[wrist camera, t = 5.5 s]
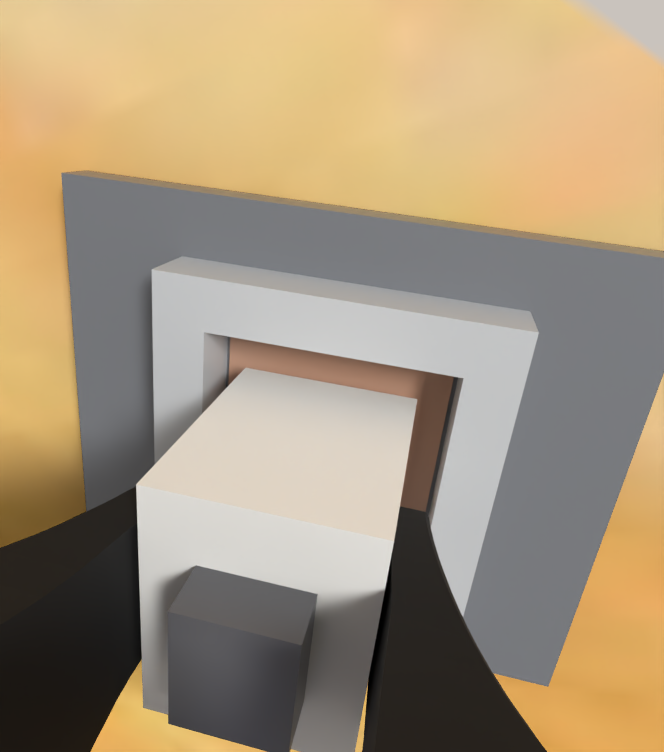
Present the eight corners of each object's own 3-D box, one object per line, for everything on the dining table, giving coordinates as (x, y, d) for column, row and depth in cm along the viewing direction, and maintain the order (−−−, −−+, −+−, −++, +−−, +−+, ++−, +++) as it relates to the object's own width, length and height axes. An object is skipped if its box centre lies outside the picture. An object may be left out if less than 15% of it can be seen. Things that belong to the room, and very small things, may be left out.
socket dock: (543, 657, 17) (556, 736, 15) (108, 552, 19) (61, 608, 17) (685, 254, 12) (736, 280, 10) (86, 170, 14) (16, 176, 12)
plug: (385, 574, 15) (341, 826, 9) (236, 540, 15) (114, 759, 10) (417, 399, 13) (385, 590, 7) (245, 367, 13) (99, 524, 8)
